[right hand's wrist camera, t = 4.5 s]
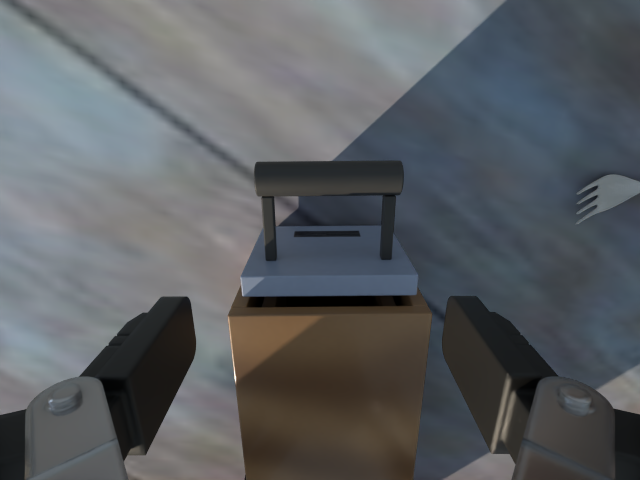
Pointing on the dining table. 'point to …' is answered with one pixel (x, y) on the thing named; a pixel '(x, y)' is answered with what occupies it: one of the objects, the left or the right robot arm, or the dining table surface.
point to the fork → (609, 193)
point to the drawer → (328, 240)
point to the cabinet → (329, 388)
